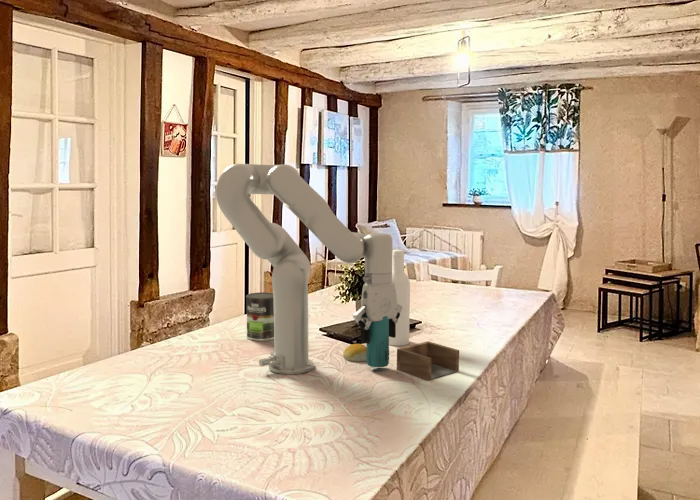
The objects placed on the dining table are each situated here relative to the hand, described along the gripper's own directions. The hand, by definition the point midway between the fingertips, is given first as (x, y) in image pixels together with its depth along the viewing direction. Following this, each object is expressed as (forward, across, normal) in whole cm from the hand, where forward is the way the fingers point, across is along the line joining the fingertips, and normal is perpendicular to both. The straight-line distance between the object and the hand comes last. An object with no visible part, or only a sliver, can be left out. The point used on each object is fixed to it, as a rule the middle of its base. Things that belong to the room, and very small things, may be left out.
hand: (378, 339), depth 174 cm
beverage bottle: (+9, 0, 0) cm, 9 cm away
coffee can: (+8, -7, +49) cm, 50 cm away
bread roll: (+9, +3, +12) cm, 15 cm away
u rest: (+9, +10, -10) cm, 16 cm away
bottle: (+9, +23, +16) cm, 29 cm away
